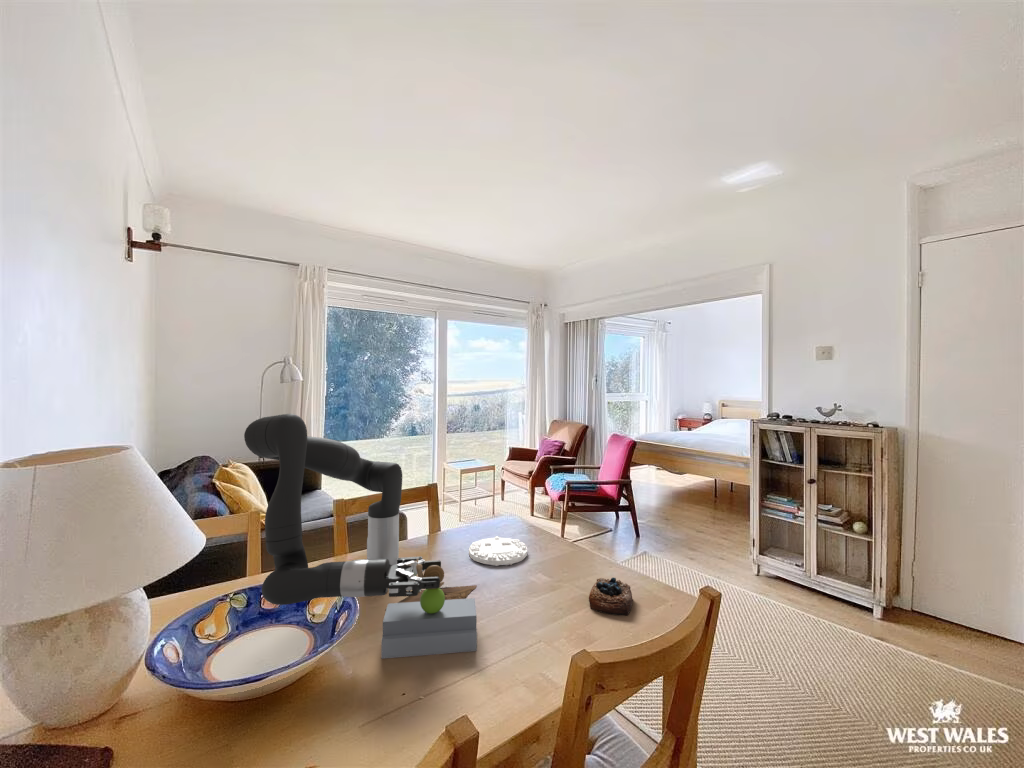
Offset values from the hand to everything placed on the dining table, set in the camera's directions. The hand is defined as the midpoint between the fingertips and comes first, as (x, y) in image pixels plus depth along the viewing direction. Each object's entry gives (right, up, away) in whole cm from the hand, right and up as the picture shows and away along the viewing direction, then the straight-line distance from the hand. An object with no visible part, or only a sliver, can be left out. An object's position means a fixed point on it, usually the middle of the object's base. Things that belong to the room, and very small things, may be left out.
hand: (440, 573), depth 94 cm
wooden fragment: (-4, -15, +18) cm, 24 cm away
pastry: (+43, -16, +17) cm, 48 cm away
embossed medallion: (+11, -16, +48) cm, 52 cm away
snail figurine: (-2, -8, -1) cm, 9 cm away
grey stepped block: (-2, -15, 0) cm, 15 cm away
